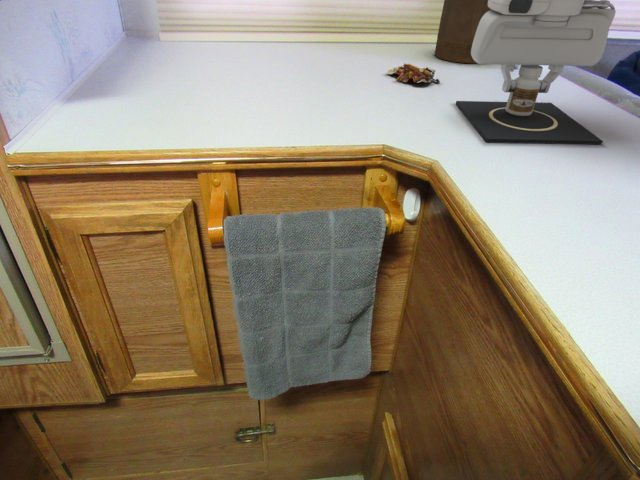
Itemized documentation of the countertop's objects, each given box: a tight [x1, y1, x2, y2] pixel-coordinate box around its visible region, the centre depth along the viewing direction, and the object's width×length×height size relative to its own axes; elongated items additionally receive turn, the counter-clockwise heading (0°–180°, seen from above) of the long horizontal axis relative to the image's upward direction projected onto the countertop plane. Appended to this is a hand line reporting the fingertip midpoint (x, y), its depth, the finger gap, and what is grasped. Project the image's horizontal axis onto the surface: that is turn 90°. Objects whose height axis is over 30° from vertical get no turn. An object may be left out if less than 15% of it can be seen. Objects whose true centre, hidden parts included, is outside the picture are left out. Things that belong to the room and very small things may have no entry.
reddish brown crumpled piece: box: [386, 62, 441, 84], centre depth 92 cm, size 7×12×4 cm, turn 42°
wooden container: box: [434, 0, 492, 65], centre depth 104 cm, size 15×15×22 cm
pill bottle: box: [505, 65, 544, 116], centre depth 72 cm, size 4×4×8 cm
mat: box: [455, 100, 603, 145], centre depth 72 cm, size 18×18×1 cm
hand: (524, 91), depth 72 cm, fingers closed on pill bottle, 4 cm apart
